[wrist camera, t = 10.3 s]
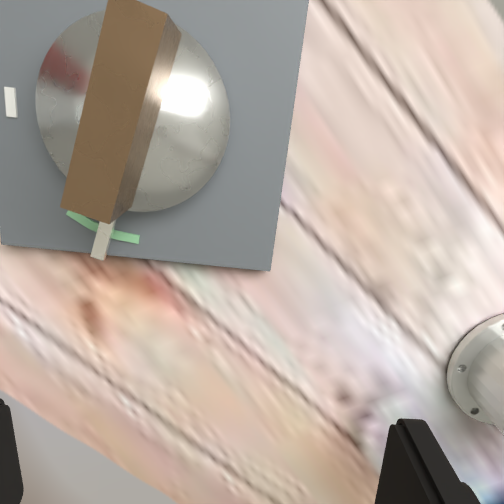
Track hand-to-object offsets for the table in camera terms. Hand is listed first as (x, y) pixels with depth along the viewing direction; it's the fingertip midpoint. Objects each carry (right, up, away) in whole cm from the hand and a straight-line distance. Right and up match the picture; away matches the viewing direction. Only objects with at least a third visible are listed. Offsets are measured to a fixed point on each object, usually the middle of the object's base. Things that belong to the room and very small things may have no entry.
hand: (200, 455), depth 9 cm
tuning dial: (-8, +13, +19) cm, 24 cm away
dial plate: (-7, +15, +20) cm, 26 cm away
